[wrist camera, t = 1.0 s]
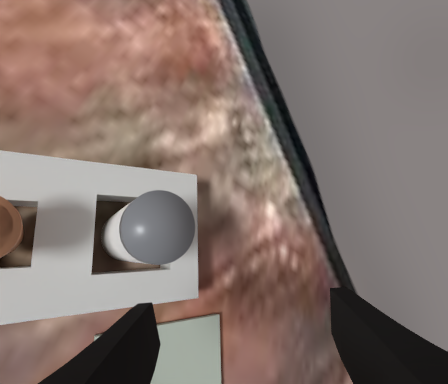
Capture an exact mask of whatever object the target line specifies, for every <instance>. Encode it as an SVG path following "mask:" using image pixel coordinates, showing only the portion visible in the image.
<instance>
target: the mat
mask: <svg viewBox="0 0 448 384" xmlns="http://www.w3.org/2000/svg"><path fill="white" fill-rule="evenodd" d="M157 329H158V334H159V339H160V344H161V345H160V350H159V354H158V359H157V363H156V367H155V371H154V374H153V377H152V380H151V383H150V384H221V354H220V317H219V314H211V315H206V316H200V317H194V318H189V319H183V320H177V321H172V322H166V323H160V324H157ZM101 335H102V334H97V335H94V341H95V340H96V339H97V338H99V337H100V336H101Z"/></svg>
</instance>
